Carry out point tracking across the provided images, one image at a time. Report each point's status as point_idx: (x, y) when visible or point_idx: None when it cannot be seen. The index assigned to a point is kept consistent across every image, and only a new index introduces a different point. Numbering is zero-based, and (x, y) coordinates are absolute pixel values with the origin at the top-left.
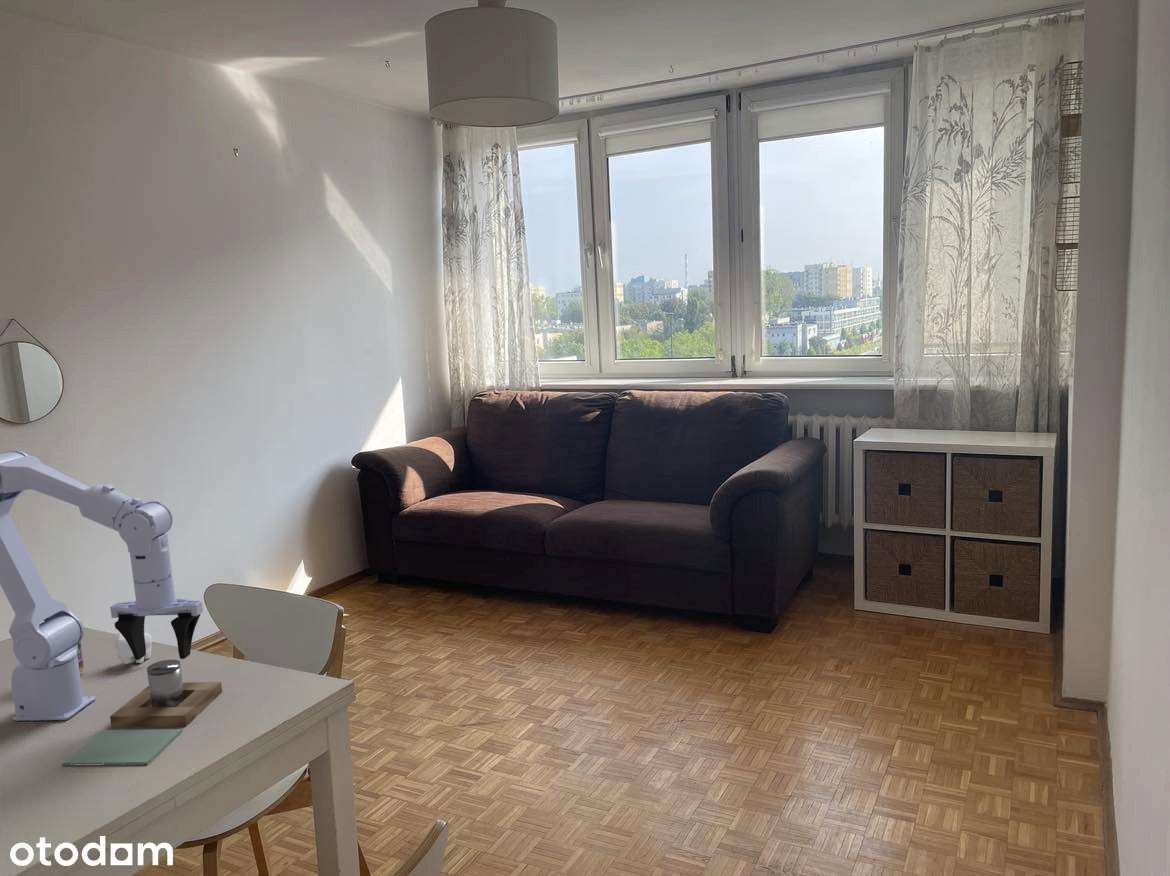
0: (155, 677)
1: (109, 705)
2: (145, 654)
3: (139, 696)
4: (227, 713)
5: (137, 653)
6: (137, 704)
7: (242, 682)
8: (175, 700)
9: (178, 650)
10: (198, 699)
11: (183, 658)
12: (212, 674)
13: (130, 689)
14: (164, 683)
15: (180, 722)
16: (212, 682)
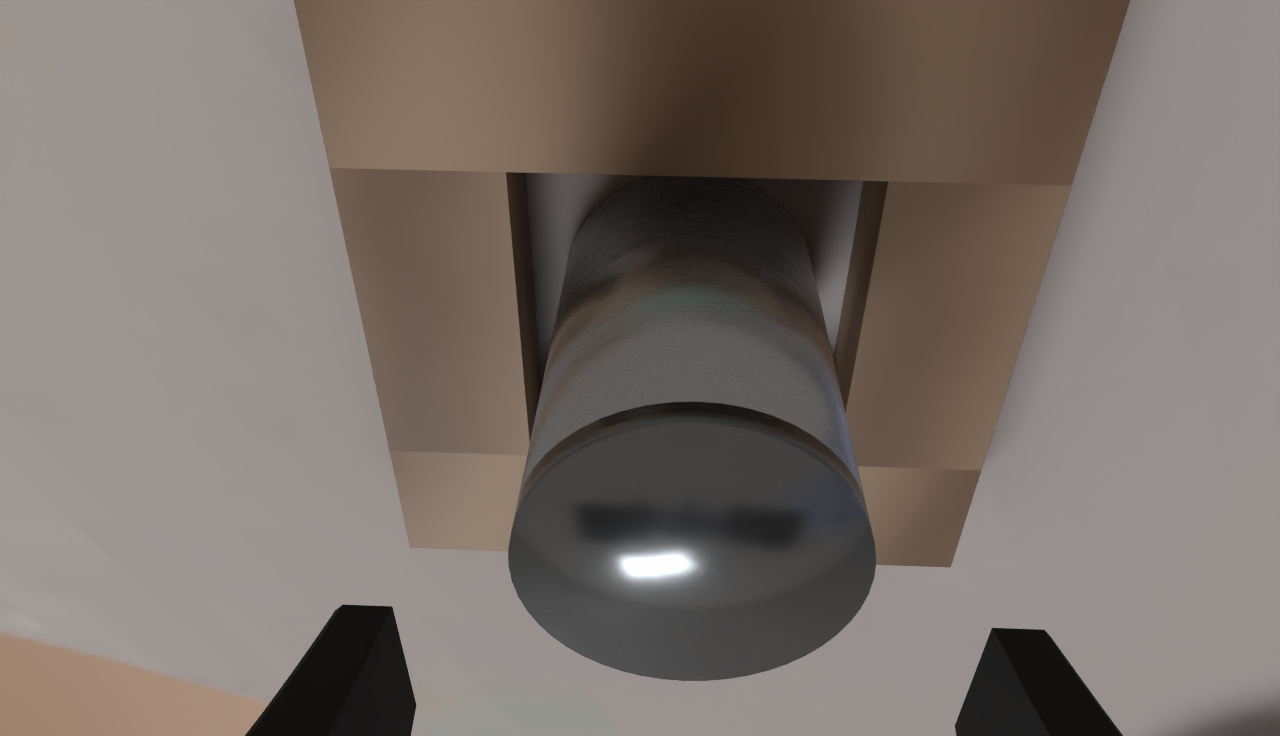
0: (707, 387)
1: (1217, 362)
2: (957, 730)
3: (966, 381)
4: (132, 183)
5: (1027, 709)
6: (924, 242)
7: (378, 588)
8: (574, 277)
9: (335, 711)
10: (391, 302)
11: (344, 609)
12: (641, 678)
13: (1119, 559)
14: (615, 346)
15: None
16: (471, 544)
